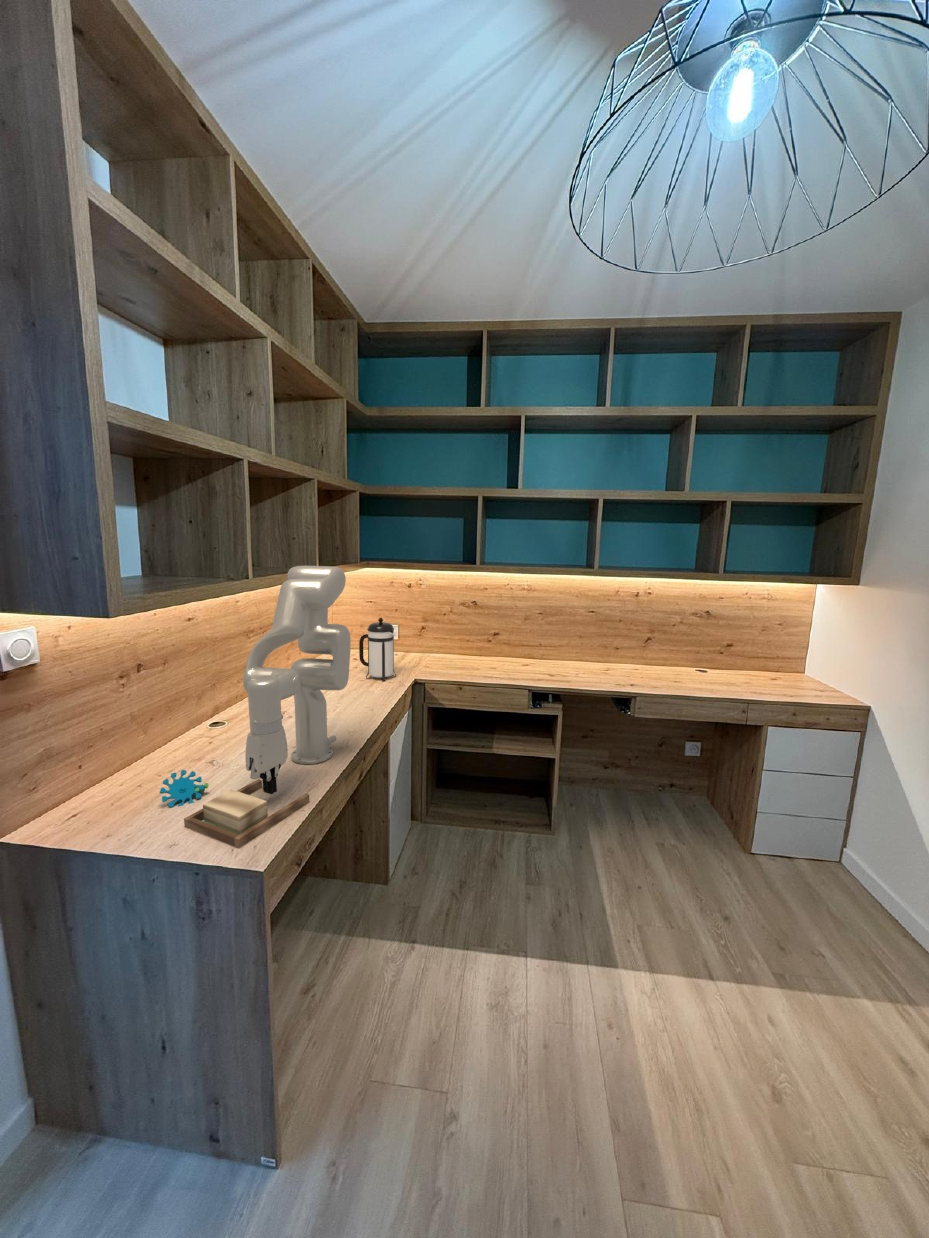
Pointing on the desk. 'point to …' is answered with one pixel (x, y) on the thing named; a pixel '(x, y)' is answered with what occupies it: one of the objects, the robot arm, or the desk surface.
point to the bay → (238, 841)
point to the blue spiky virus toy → (183, 788)
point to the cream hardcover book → (235, 811)
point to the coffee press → (379, 650)
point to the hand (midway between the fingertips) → (270, 791)
